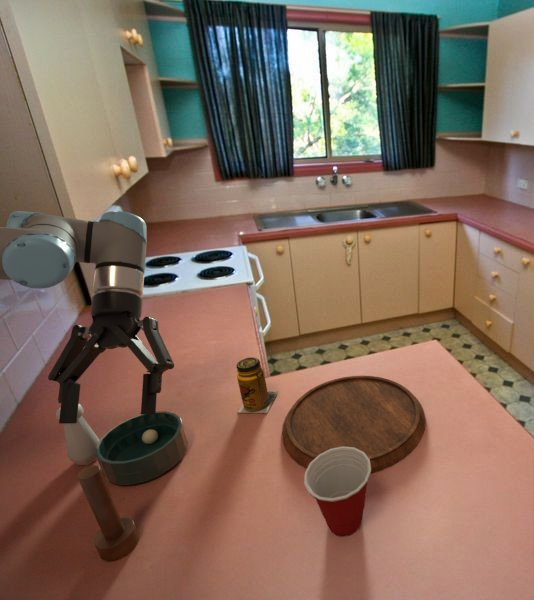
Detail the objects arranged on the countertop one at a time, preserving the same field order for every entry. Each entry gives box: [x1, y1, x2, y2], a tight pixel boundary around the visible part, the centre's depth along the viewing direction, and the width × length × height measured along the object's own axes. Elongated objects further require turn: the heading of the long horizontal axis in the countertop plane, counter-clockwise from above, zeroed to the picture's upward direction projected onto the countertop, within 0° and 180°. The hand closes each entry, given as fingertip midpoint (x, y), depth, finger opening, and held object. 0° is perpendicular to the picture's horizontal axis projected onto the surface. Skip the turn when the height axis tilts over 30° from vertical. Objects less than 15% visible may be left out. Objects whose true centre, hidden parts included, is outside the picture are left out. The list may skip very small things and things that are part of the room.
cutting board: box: [281, 375, 426, 475], centre depth 96 cm, size 32×32×2 cm
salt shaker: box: [55, 403, 100, 466], centre depth 86 cm, size 6×6×13 cm
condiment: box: [236, 356, 279, 414], centre depth 102 cm, size 7×8×12 cm
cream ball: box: [142, 429, 158, 444], centre depth 91 cm, size 3×3×3 cm
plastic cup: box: [303, 447, 372, 538], centre depth 70 cm, size 11×11×12 cm
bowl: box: [96, 410, 189, 486], centre depth 87 cm, size 15×15×6 cm
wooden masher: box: [77, 464, 140, 562], centre depth 67 cm, size 6×6×16 cm
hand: (107, 419), depth 70 cm, fingers open, 13 cm apart
